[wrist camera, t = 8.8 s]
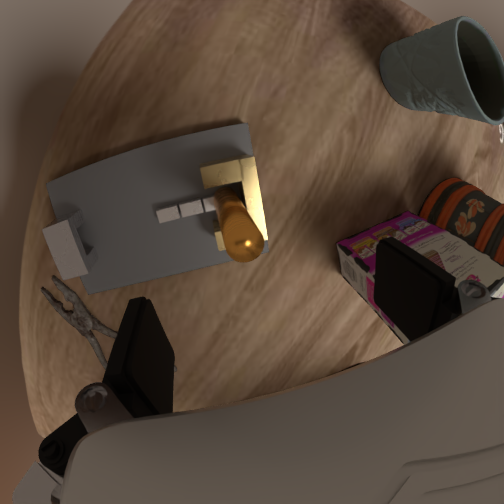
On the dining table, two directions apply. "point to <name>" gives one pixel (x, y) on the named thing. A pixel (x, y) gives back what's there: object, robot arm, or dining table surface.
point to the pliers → (80, 318)
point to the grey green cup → (447, 71)
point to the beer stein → (467, 216)
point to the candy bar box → (424, 242)
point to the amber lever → (224, 222)
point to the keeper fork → (246, 176)
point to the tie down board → (148, 208)
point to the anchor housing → (69, 246)
